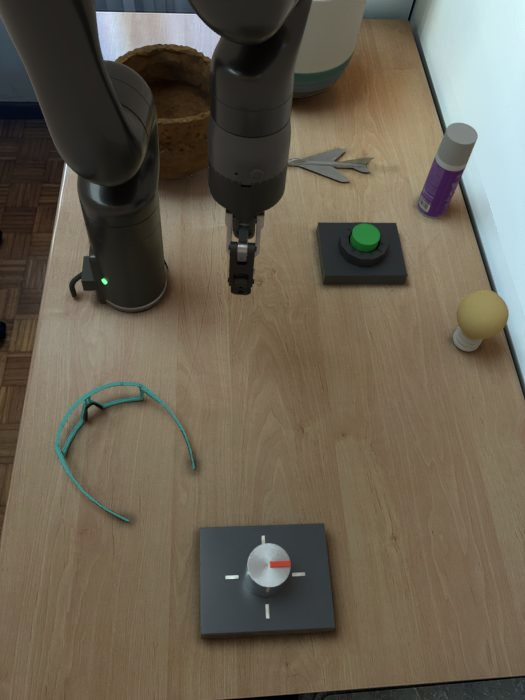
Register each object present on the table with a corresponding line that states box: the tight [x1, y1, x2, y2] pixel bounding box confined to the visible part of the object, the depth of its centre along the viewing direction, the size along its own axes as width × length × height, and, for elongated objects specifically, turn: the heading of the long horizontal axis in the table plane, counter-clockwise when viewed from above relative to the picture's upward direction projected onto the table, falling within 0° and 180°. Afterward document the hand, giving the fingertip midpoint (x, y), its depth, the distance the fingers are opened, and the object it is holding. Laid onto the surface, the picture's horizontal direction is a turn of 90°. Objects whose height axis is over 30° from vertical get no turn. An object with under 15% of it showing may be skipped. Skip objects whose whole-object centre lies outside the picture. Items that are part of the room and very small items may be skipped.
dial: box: [245, 543, 291, 597], centre depth 69 cm, size 4×4×5 cm
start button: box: [350, 223, 380, 253], centre depth 95 cm, size 4×4×2 cm
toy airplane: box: [288, 147, 385, 183], centre depth 108 cm, size 8×21×2 cm, turn 90°
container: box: [416, 122, 479, 220], centre depth 99 cm, size 5×5×15 cm
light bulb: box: [452, 289, 510, 353], centre depth 88 cm, size 6×6×10 cm
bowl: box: [114, 43, 211, 180], centre depth 100 cm, size 19×19×15 cm
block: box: [315, 221, 408, 286], centre depth 97 cm, size 12×10×4 cm
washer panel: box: [199, 522, 336, 639], centre depth 73 cm, size 14×11×3 cm
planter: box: [292, 0, 367, 99], centre depth 110 cm, size 20×20×21 cm
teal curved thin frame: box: [54, 381, 196, 523], centre depth 79 cm, size 14×15×5 cm
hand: (242, 261), depth 75 cm, fingers open, 8 cm apart
